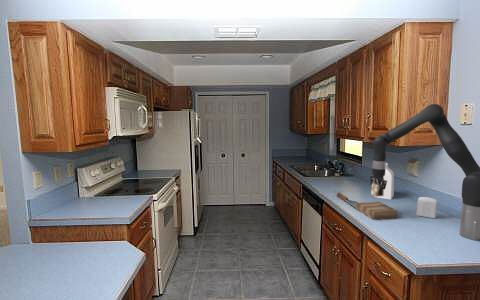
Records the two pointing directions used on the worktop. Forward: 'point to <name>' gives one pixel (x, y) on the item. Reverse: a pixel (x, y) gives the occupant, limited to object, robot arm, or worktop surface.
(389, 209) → the walnut base
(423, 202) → the photo printer
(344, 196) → the meat cleaver
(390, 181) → the milk
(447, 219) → the worktop surface
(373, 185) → the beech block
